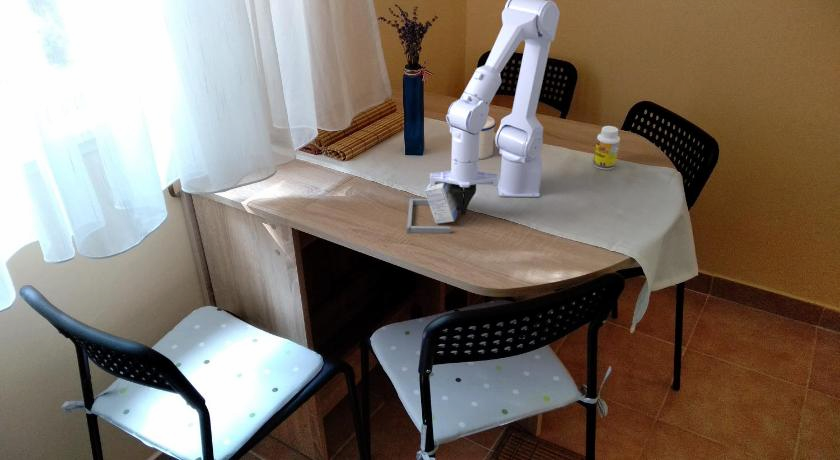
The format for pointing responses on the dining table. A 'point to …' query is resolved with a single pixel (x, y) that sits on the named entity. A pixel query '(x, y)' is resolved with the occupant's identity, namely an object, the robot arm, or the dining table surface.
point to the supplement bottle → (606, 148)
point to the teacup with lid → (487, 139)
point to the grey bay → (422, 228)
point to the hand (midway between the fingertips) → (462, 212)
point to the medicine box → (442, 202)
